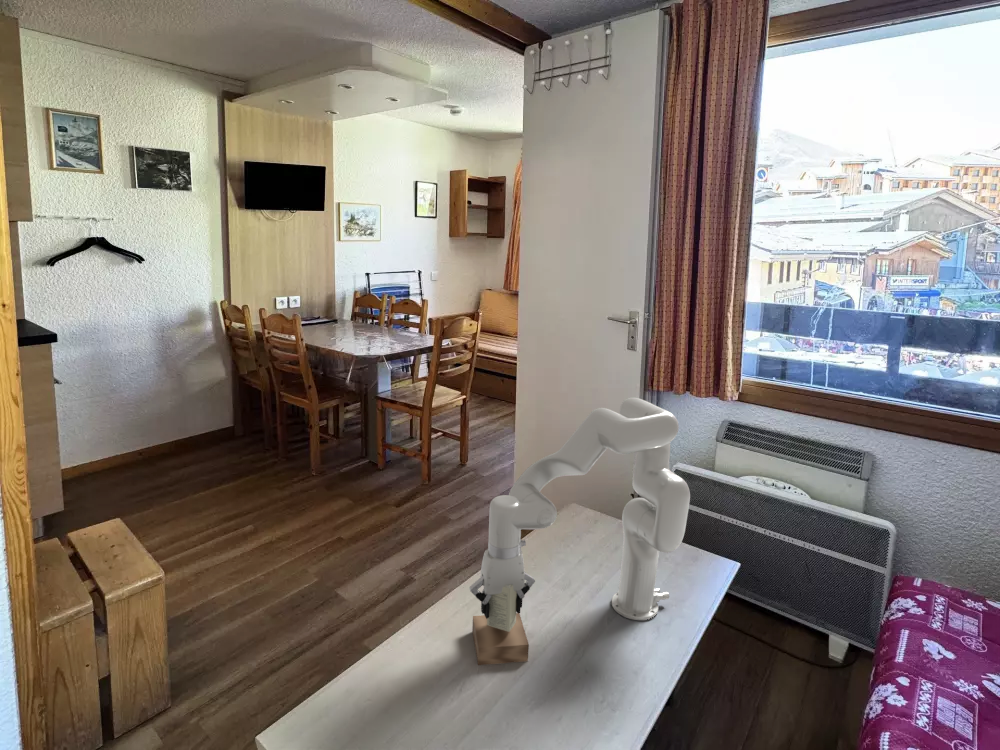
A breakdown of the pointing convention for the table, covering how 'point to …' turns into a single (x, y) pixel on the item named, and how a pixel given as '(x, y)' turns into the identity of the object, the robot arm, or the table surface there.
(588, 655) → the table surface
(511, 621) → the skincare box
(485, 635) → the walnut block
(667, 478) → the robot arm
